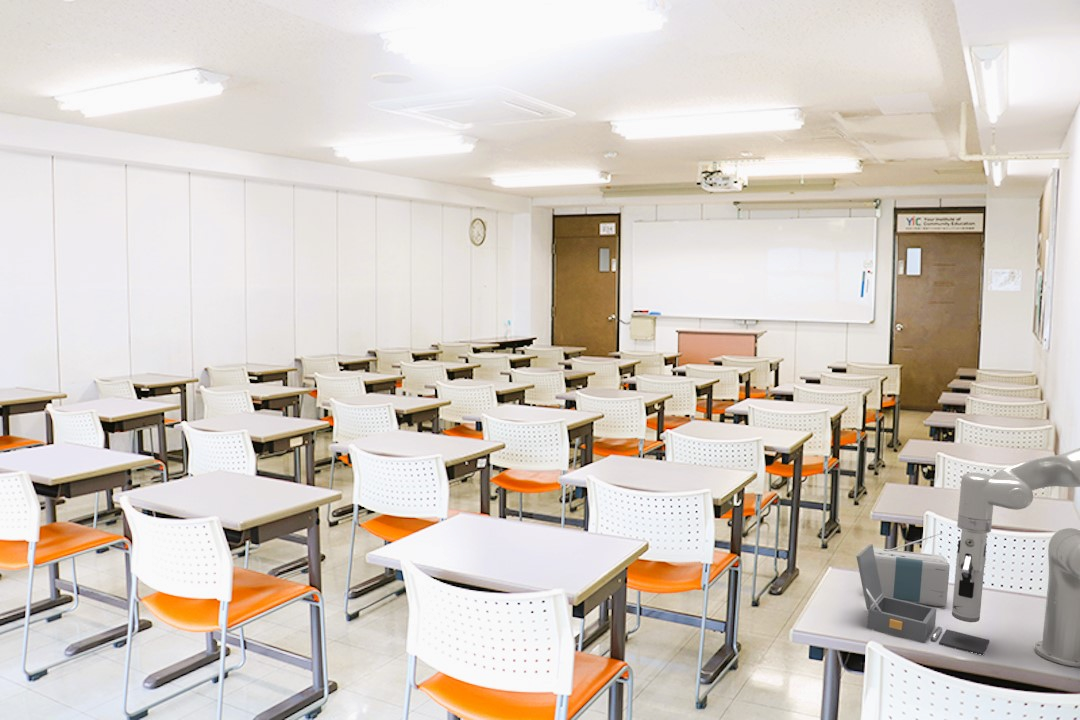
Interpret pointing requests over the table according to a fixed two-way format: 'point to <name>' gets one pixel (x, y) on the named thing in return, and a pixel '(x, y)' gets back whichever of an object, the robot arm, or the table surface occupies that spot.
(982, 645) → the pad
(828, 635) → the table surface
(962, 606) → the travel mug
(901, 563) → the stereo radio cassette player
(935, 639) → the rod
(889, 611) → the case
